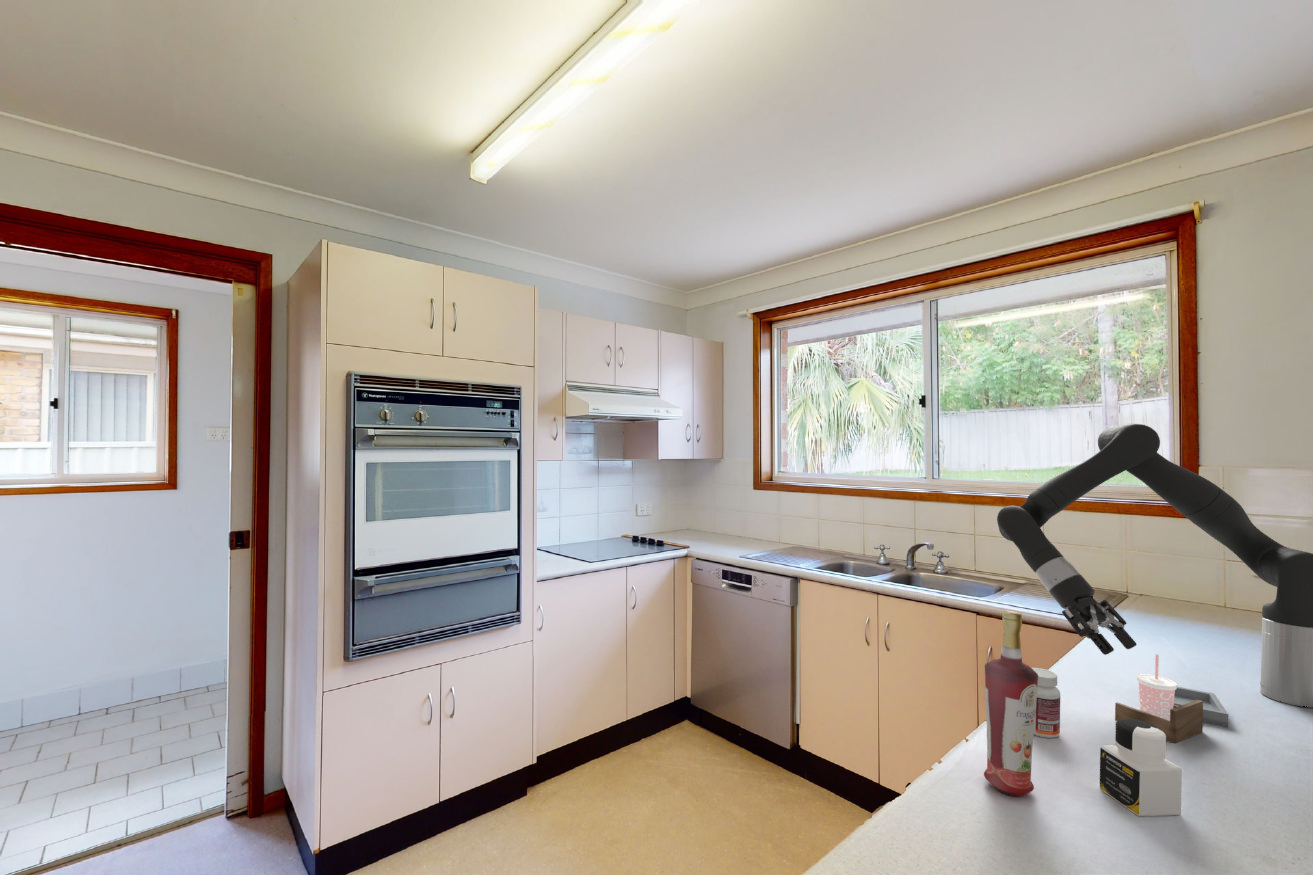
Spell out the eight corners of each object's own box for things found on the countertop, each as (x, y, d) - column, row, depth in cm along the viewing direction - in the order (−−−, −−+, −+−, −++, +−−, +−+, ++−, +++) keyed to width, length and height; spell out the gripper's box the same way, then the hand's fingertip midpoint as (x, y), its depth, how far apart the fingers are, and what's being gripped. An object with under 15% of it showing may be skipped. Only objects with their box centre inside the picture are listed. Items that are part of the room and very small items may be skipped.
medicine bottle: (1098, 788, 95) (1099, 714, 95) (1139, 787, 95) (1141, 713, 95) (1138, 817, 88) (1139, 736, 88) (1182, 815, 88) (1184, 735, 88)
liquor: (1014, 806, 90) (1018, 621, 90) (971, 780, 96) (975, 608, 96) (1046, 796, 92) (1050, 617, 93) (1002, 771, 99) (1006, 604, 99)
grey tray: (1214, 705, 127) (1214, 693, 127) (1228, 726, 117) (1228, 714, 117) (1142, 690, 134) (1142, 679, 134) (1149, 710, 124) (1150, 698, 124)
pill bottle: (1065, 733, 113) (1066, 674, 113) (1050, 742, 109) (1052, 681, 110) (1030, 720, 118) (1032, 663, 118) (1015, 728, 115) (1016, 669, 115)
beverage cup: (1143, 729, 116) (1144, 657, 116) (1130, 715, 121) (1131, 647, 121) (1182, 735, 113) (1183, 662, 114) (1167, 721, 119) (1168, 651, 119)
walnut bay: (1202, 731, 115) (1203, 701, 115) (1174, 743, 110) (1175, 710, 110) (1142, 710, 124) (1143, 681, 124) (1115, 720, 119) (1115, 690, 119)
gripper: (1057, 575, 128) (1117, 645, 117) (1095, 570, 134) (1154, 636, 124) (1032, 594, 133) (1087, 663, 122) (1069, 588, 139) (1125, 653, 129)
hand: (1121, 649), depth 123 cm, fingers open, 8 cm apart
